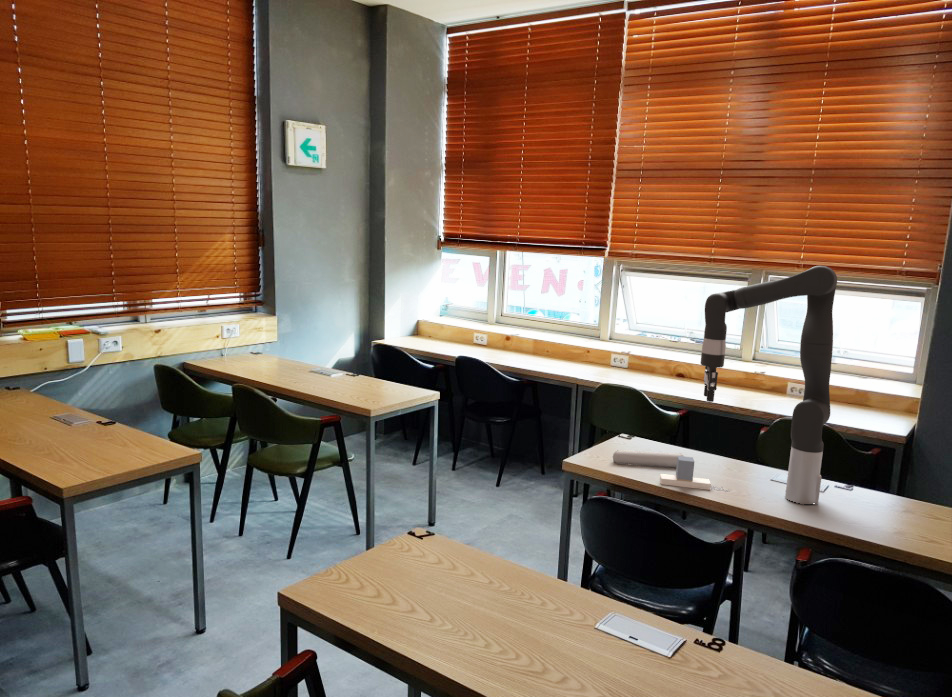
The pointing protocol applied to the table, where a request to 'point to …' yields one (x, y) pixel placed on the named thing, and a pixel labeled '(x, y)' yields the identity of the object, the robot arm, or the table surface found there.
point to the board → (685, 482)
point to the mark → (714, 488)
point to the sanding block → (685, 468)
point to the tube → (646, 458)
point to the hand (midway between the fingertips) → (708, 398)
